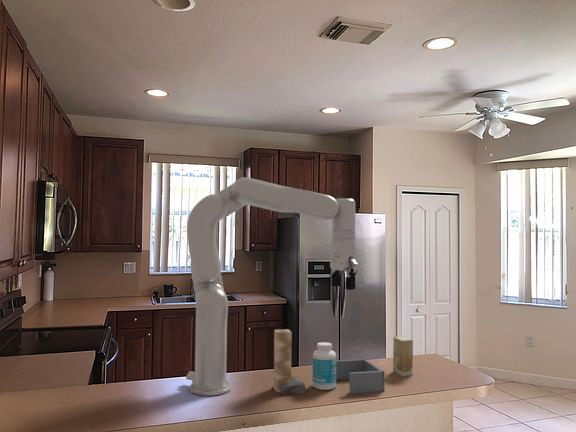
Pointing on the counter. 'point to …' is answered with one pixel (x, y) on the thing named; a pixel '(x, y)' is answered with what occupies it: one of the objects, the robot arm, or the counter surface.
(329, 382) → the pill bottle
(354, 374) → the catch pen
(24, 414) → the counter surface
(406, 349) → the skincare box
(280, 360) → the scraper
